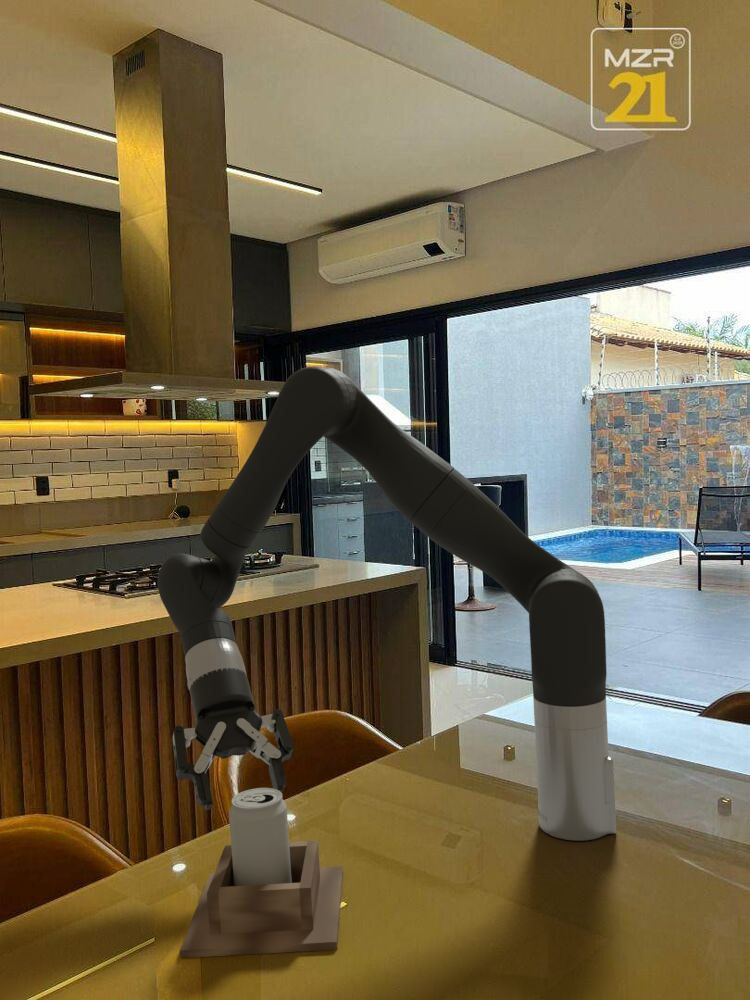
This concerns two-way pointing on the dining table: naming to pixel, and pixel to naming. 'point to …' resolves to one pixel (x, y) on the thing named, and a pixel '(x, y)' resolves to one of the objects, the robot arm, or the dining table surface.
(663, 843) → the dining table surface
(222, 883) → the well
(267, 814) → the beverage can
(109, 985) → the dining table surface
